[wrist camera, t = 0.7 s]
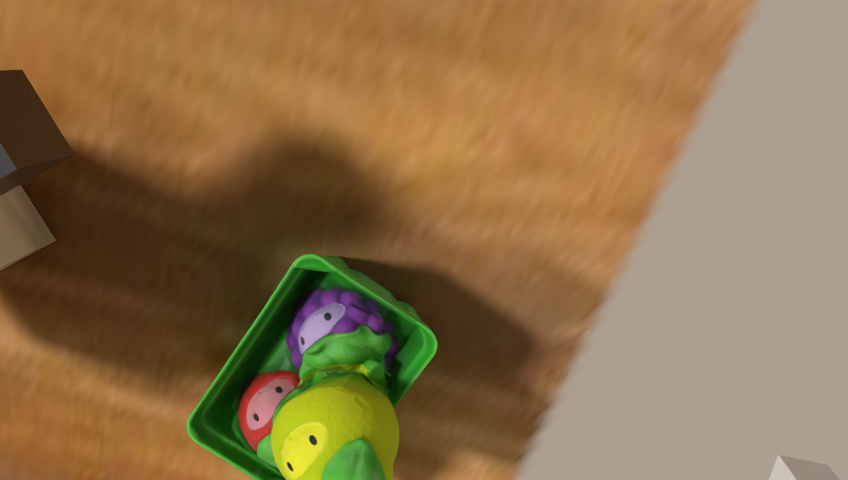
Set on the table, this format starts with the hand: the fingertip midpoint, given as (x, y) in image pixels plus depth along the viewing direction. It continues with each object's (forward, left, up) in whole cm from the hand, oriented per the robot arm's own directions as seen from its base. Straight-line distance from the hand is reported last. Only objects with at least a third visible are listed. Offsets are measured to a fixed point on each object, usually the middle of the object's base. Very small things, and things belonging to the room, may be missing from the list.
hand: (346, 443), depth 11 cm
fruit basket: (+6, -9, -25) cm, 28 cm away
